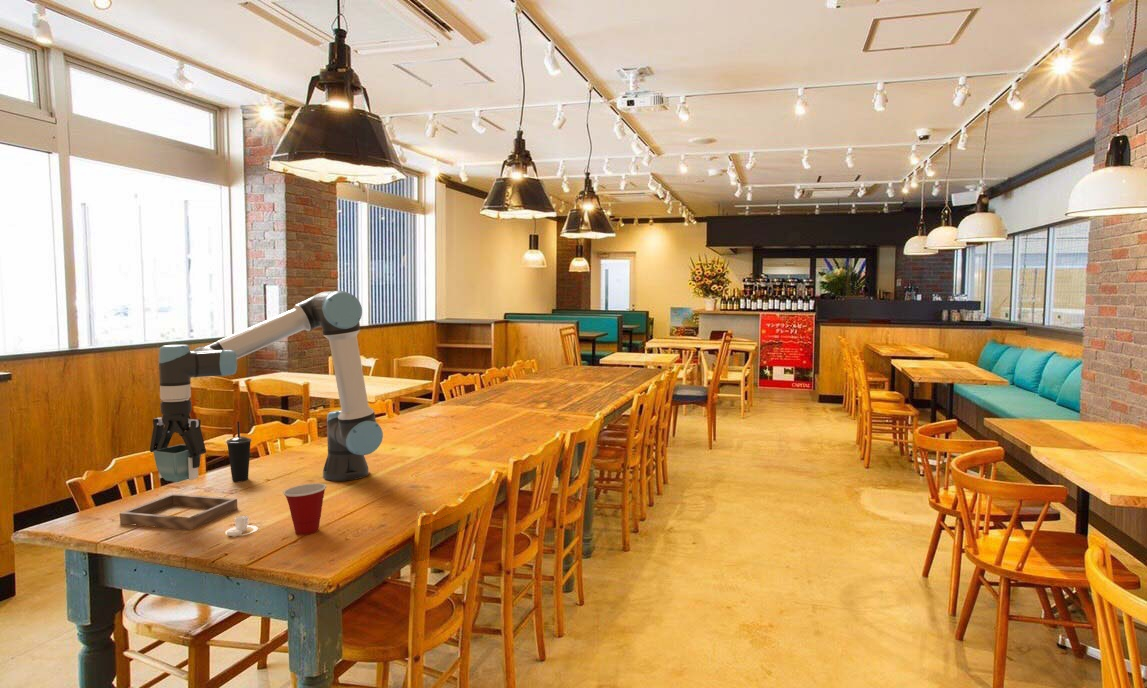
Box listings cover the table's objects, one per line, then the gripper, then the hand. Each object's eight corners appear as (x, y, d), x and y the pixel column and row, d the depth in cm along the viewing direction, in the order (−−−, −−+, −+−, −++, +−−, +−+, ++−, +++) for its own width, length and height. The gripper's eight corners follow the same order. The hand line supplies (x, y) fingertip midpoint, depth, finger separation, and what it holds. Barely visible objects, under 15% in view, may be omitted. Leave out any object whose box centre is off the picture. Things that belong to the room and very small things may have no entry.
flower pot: (153, 481, 190) (152, 450, 189) (182, 474, 198) (180, 444, 197) (175, 485, 186) (174, 453, 186) (203, 477, 194) (202, 446, 194)
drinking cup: (242, 483, 225) (240, 424, 224) (222, 482, 227) (220, 423, 225) (257, 477, 233) (255, 420, 231) (238, 476, 234) (236, 419, 233)
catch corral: (237, 508, 199) (237, 498, 199) (189, 530, 182) (189, 519, 181) (172, 503, 204) (172, 493, 204) (120, 523, 186) (119, 513, 186)
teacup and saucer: (233, 540, 175) (232, 525, 175) (216, 534, 179) (215, 519, 179) (264, 530, 183) (263, 516, 182) (247, 525, 187) (246, 510, 187)
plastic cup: (296, 523, 187) (295, 481, 186) (334, 525, 186) (333, 482, 185) (276, 537, 176) (274, 492, 175) (315, 539, 175) (314, 494, 174)
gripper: (219, 399, 192) (221, 476, 193) (153, 396, 196) (156, 472, 198) (199, 403, 184) (202, 484, 186) (132, 400, 189) (135, 478, 191)
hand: (178, 477), depth 192 cm, fingers closed on flower pot, 9 cm apart
